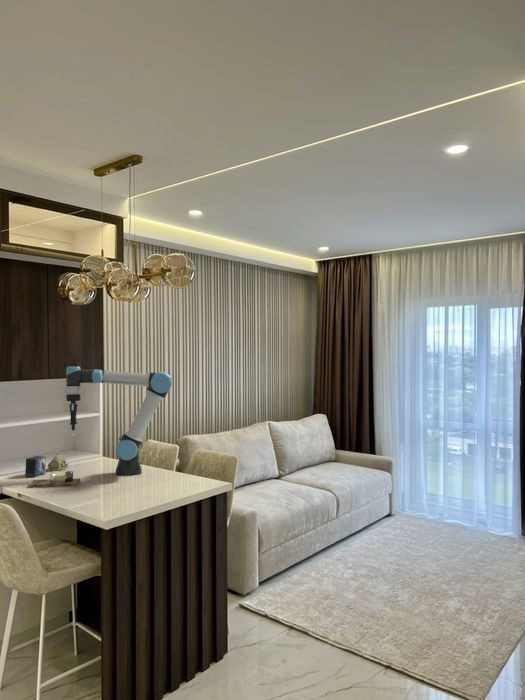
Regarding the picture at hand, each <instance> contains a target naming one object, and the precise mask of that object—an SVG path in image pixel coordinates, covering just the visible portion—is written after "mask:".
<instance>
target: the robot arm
mask: <svg viewBox="0 0 525 700" xmlns="http://www.w3.org/2000/svg"><path fill="white" fill-rule="evenodd" d="M65 381H66V383H65V385H66V388H64V389H65V390H66V392H65V393H66V398H65V400H66V401H67V402H70V404H69V413H70V423H69V425H70V437H76V436H77V425H78V422H77V411H78V403H77V402H79V401H81V384H99V383H100V384H110V385H111V384H112V385H122V386H123V385H124V386H135V387H136V386H137V387H146V392H147V394H146V396H145V397H144V399H143V401H142V403H141V405H140V407H139V410H138V411H137V413H136V415H135V416H134V419H133V420H132V423H131V424H130V427H129V428H128V430H127V431H124V433H123V434H120V435H119V439H118V440H119V441H118V444H117V445H116V447H115V452H116V455H117V457H118V462H117V465H116V468H115V473H116V475H117V476H136V475H135V474H138V475H140V473H141V474H142V473H143V472H142V470H143V468H142V466H141V462H140V447H142V446H141V445H142V444H143V436H144V433H145V432H146V430H147V428H148V426H149V424H150V422H151V420H152V418H153V416H154V415H155V413H156V410H157V409H158V407H159V405H160V403H161V402H162V401H161V400H164V399H165V398H166V396H167V395H168V393H169V391H170V390H171V388H172V385H173V379H172V377H171V374H169V373H167V372H166V371H158V372H148V373H139V372H127V371H117V370H115V371H114V370H104V369H81V367H80V366H67V367H66V373H65Z"/></svg>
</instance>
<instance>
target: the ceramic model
mask: <svg viewBox="0 0 525 700" xmlns="http://www.w3.org/2000/svg"><path fill="white" fill-rule="evenodd" d="M62 454H63V453H56V455H55V456H54V457H53V458H52V459H51V461H50V462H49V463H48V464H47V469H45V472H49V471H51V472H52V471H59V472H63V471H62V470H65V471H67V470H68V469H69V465H70V464H69V463H67V459H66V457H65V456H64V455H62ZM66 469H67V470H66Z"/></svg>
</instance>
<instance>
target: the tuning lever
mask: <svg viewBox="0 0 525 700" xmlns="http://www.w3.org/2000/svg"><path fill="white" fill-rule="evenodd" d="M64 473H65V474H61V475H56V473H55V472H51V473H49V479H50V482H55V480H63V479H65V481H73V479H74V471H72V470H65V472H64Z"/></svg>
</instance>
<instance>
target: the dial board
mask: <svg viewBox="0 0 525 700" xmlns="http://www.w3.org/2000/svg"><path fill="white" fill-rule="evenodd" d="M79 482H81V478H73V481H65V479H63V480H55V482H50V478H48V479H47V478H46V479H32V481H31V482H30V483H29V484H28V487H39V488H66V487H69V486H70V487H71V486H74V487H78V486H79V484H80V483H79ZM28 487H27V488H28ZM71 488H72V487H71Z"/></svg>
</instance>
